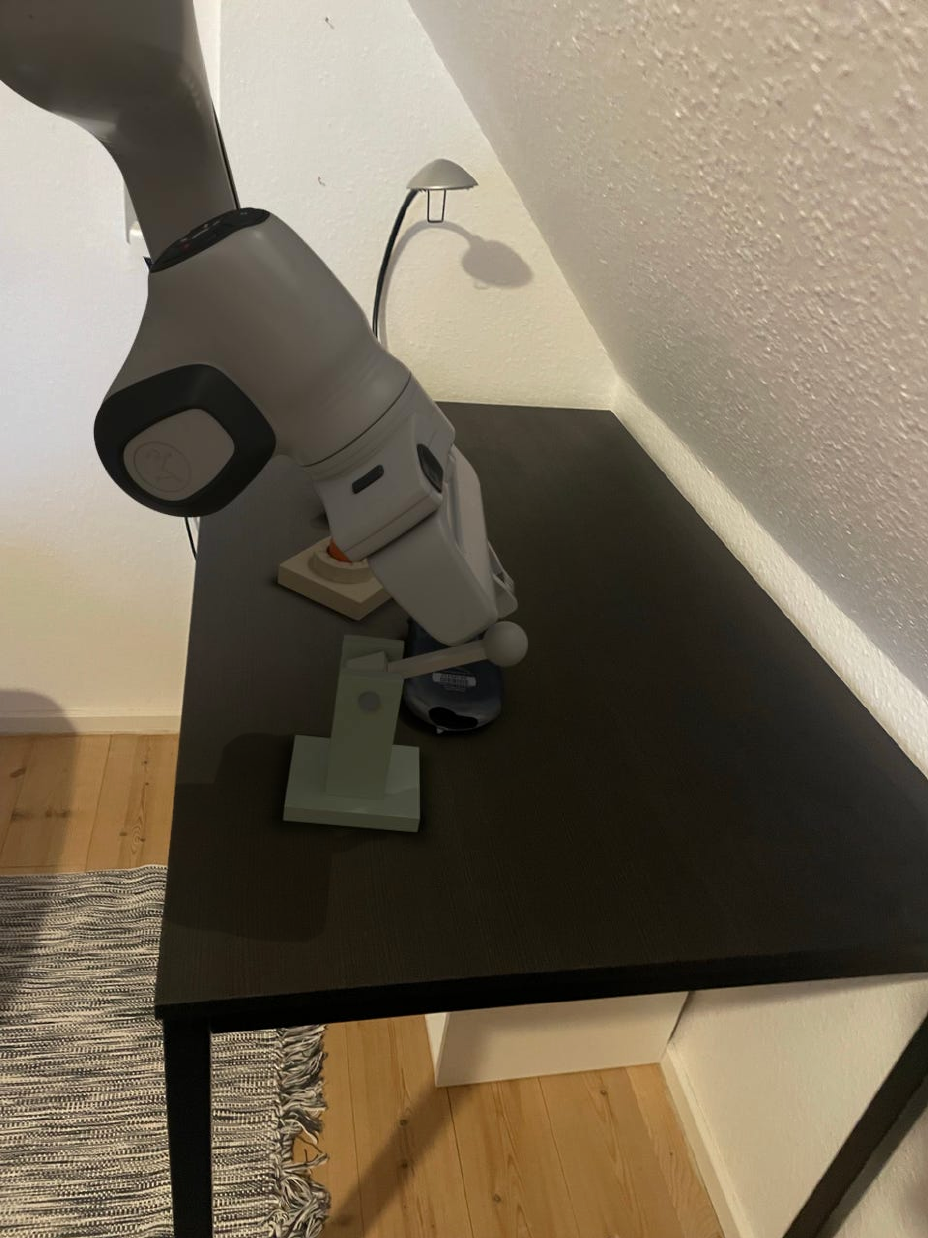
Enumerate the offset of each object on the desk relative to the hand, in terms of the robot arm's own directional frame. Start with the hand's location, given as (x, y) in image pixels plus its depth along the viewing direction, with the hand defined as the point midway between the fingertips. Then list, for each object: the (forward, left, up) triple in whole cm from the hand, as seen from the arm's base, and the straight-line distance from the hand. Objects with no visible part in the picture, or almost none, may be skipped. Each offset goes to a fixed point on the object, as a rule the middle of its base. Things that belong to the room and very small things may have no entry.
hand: (507, 602), depth 65 cm
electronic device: (-8, +12, -19) cm, 24 cm away
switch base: (-7, -5, -19) cm, 21 cm away
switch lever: (-3, -2, -7) cm, 8 cm away
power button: (-25, +19, -15) cm, 35 cm away
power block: (-25, +19, -19) cm, 37 cm away
